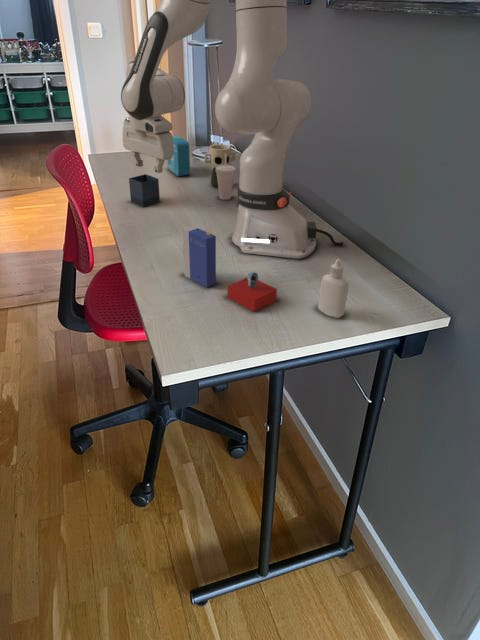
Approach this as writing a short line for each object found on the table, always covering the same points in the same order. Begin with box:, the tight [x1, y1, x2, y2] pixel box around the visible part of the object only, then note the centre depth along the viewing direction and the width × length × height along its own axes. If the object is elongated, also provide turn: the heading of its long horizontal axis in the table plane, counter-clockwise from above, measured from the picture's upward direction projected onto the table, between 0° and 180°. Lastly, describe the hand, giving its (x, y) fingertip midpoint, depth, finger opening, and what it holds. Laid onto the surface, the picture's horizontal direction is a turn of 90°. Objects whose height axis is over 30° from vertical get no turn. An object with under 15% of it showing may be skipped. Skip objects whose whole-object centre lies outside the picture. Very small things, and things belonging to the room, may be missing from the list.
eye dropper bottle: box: [317, 258, 350, 319], centre depth 101 cm, size 4×6×12 cm
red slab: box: [227, 272, 278, 312], centre depth 107 cm, size 8×7×6 cm
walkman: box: [182, 225, 217, 288], centre depth 112 cm, size 8×3×12 cm, turn 45°
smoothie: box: [215, 153, 236, 201], centre depth 159 cm, size 6×6×14 cm
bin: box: [128, 173, 161, 208], centre depth 156 cm, size 8×6×6 cm
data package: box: [166, 135, 191, 177], centre depth 182 cm, size 12×4×12 cm, turn 26°
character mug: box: [204, 143, 236, 187], centre depth 170 cm, size 11×7×13 cm, turn 111°
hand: (149, 169), depth 154 cm, fingers open, 8 cm apart
